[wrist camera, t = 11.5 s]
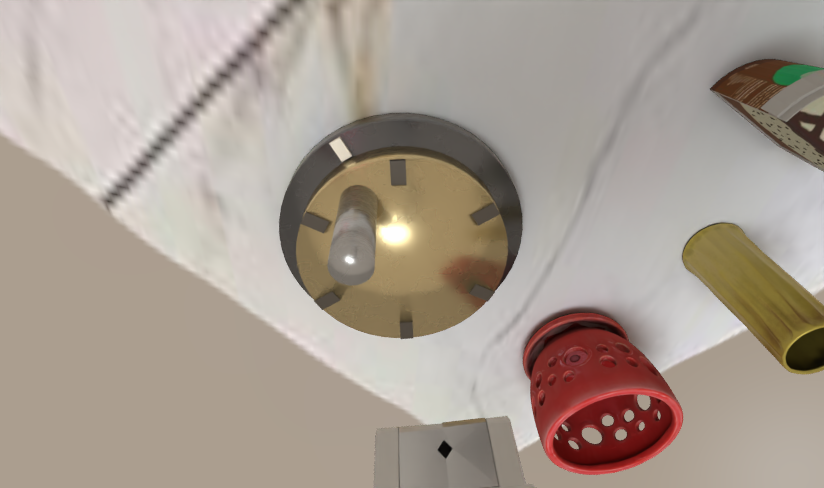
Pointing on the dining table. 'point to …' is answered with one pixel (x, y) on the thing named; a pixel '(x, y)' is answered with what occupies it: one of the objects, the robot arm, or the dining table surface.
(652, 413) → the plant pot
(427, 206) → the tan disc with rod
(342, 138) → the grey round ring
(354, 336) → the dining table surface
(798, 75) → the food container
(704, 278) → the vase
